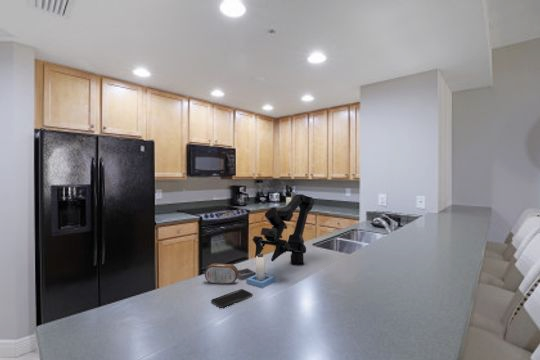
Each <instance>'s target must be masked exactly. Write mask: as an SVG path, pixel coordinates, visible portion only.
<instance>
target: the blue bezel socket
mask: <svg viewBox="0 0 540 360" xmlns="http://www.w3.org/2000/svg"><path fill="white" fill-rule="evenodd" d="M275 278H276V277H275V276H272V275H268V274H265V280H264V281H258V280H256V275H254V276H252V277H250V278H247V279H245V280H246V281H245V282H246V284H247V285H250V286H253V287H258V288H262V289H263V288H265V287H267V286H269V285H271V284H272V283H274V282H275V280H276V279H275Z"/></svg>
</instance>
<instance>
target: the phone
mask: <svg viewBox="0 0 540 360" xmlns="http://www.w3.org/2000/svg"><path fill="white" fill-rule="evenodd" d="M252 296H254V294H253V293H252V292H250V291H248V290H245V289H243V288H242V289H238V290H234V291H232V292H229V293H226V294H223V295H220V296H218V297H215V298H211V301H210V302H211V304H212V305H214V306H215V305H216V306H215V307H217V308H218V307H219V308H218V309H220V308H223V309H225V307H226V308H228V307H230V305H231V306H233V305H235V304H234V303H236V304H238V303H240V302H243V301H246V300H249V299H250V297H251V298H253V297H252ZM232 304H233V305H232ZM227 306H228V307H227Z"/></svg>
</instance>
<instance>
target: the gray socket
mask: <svg viewBox="0 0 540 360" xmlns="http://www.w3.org/2000/svg"><path fill="white" fill-rule="evenodd" d="M238 273H239V274H238V278H237V279H239V280H240V281H243V280H244V281H245V280H246V279H247V278H250V277H252V276H254V275H256V271H254V270H252V269H250V268H244V269H238Z"/></svg>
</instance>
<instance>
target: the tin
mask: <svg viewBox="0 0 540 360" xmlns="http://www.w3.org/2000/svg"><path fill="white" fill-rule="evenodd" d="M238 270H239V269H238V268H237V267H236V266H235V265H234V264H232V263H231V264H230V263H211V264H209V265H208V266H207V267H206V268H205V271H204V279H205V280H206V281H207V282H208V283H210V284H217V285H218V284H221V285H232V284H234V283H235V281H237V279H239V278H238V274H239V273H238Z"/></svg>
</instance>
